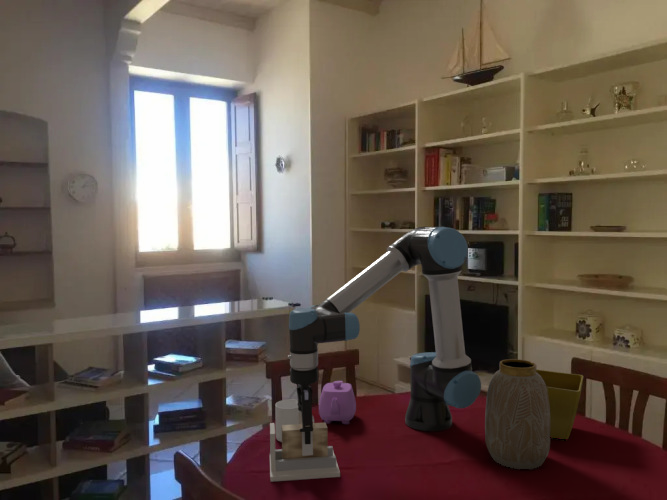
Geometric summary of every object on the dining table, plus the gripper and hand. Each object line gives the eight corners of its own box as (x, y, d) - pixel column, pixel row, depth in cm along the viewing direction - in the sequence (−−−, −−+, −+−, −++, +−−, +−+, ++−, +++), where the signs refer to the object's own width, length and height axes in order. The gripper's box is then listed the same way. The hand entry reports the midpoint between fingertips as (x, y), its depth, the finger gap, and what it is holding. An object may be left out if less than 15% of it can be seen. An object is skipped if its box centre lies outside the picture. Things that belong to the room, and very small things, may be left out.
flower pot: (582, 425, 177) (583, 374, 176) (578, 447, 160) (579, 390, 159) (521, 416, 186) (521, 367, 185) (511, 436, 169) (511, 382, 168)
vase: (548, 451, 158) (550, 358, 157) (551, 477, 142) (553, 374, 140) (486, 443, 164) (487, 353, 162) (482, 468, 147) (483, 369, 146)
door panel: (325, 457, 152) (325, 422, 151) (327, 464, 148) (327, 428, 147) (282, 461, 150) (281, 425, 150) (283, 467, 146) (282, 430, 146)
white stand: (333, 454, 157) (332, 415, 157) (340, 476, 143) (339, 434, 143) (269, 458, 155) (269, 419, 154) (270, 481, 141) (269, 438, 140)
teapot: (322, 408, 195) (322, 373, 194) (357, 409, 194) (357, 374, 193) (314, 430, 175) (314, 390, 175) (353, 431, 174) (353, 392, 173)
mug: (311, 445, 164) (311, 409, 163) (272, 442, 166) (271, 407, 165) (317, 434, 172) (316, 400, 171) (279, 432, 174) (279, 398, 173)
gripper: (287, 356, 159) (289, 427, 161) (292, 381, 135) (294, 465, 136) (313, 354, 160) (314, 426, 162) (323, 379, 136) (324, 463, 137)
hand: (305, 444), depth 149 cm, fingers open, 13 cm apart
